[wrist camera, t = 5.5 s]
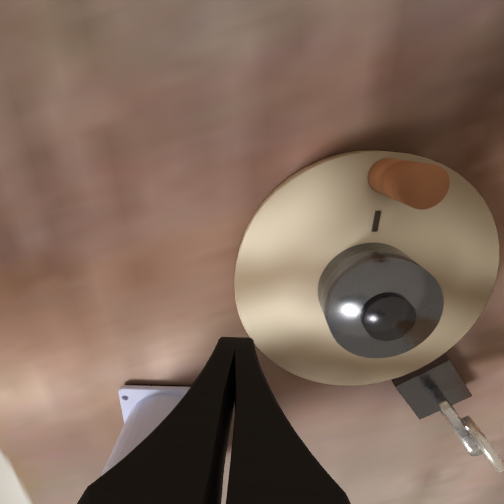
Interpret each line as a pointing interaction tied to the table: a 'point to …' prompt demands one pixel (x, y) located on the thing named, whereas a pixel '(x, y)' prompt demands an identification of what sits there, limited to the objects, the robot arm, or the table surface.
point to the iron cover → (379, 300)
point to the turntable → (354, 233)
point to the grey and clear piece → (445, 404)
